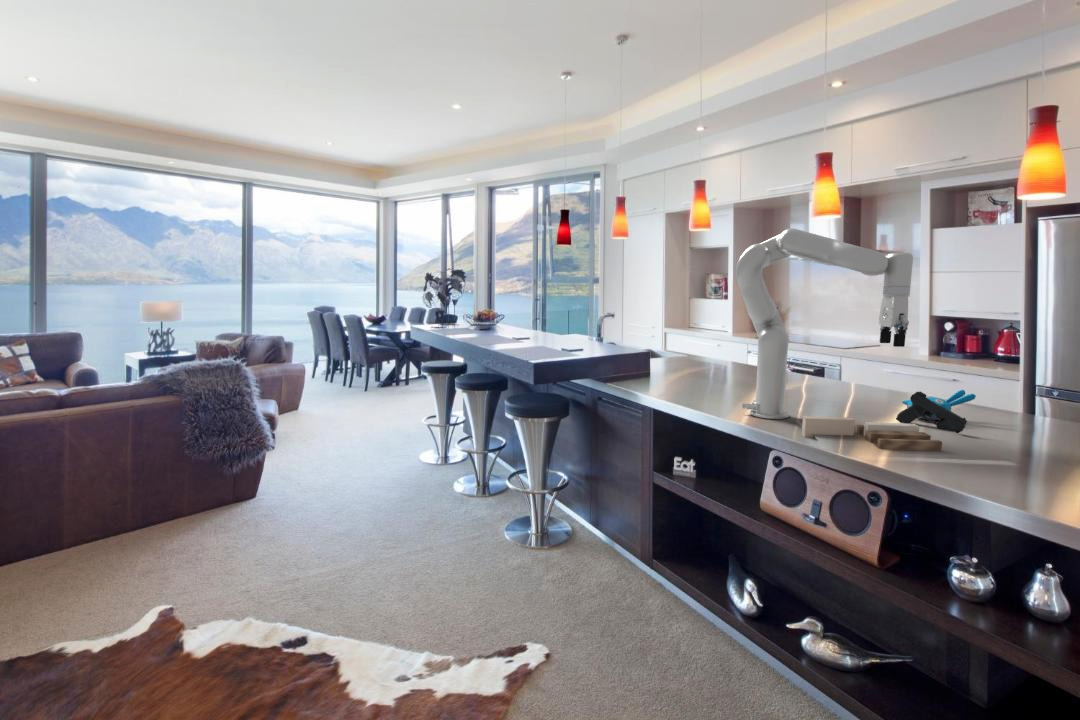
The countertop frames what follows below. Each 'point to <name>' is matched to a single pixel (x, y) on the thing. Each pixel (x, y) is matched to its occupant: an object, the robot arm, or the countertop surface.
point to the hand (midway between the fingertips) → (891, 344)
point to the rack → (900, 440)
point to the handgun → (931, 413)
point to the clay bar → (827, 426)
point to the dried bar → (890, 427)
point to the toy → (946, 402)
